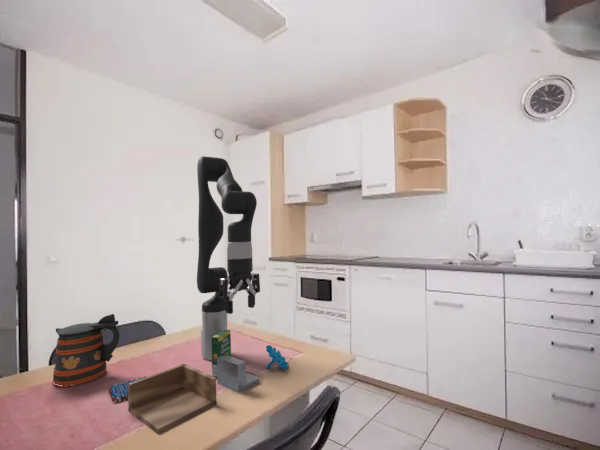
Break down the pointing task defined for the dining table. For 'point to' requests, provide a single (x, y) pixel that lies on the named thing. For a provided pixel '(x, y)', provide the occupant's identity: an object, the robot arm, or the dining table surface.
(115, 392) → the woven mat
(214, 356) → the coffee box
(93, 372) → the beer stein
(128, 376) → the dining table surface
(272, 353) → the gear
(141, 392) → the corner arena
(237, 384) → the bracket
